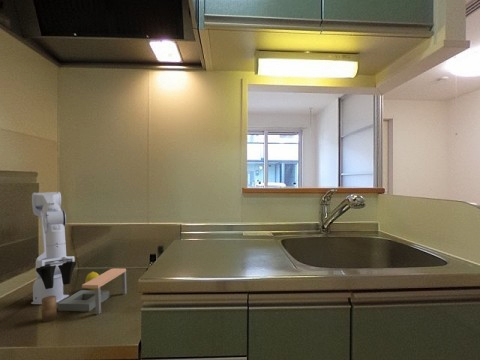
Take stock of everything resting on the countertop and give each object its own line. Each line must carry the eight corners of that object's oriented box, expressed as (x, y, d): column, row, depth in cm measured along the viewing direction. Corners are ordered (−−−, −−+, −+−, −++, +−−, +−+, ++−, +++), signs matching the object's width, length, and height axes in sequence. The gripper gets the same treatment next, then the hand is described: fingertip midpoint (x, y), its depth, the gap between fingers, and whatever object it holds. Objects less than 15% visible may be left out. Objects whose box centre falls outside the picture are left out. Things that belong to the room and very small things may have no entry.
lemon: (94, 293, 114) (93, 273, 114) (82, 292, 115) (81, 273, 115) (103, 288, 119) (102, 269, 119) (92, 287, 120) (91, 269, 120)
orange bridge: (82, 314, 96) (81, 284, 96) (112, 293, 114) (112, 268, 114) (99, 314, 95) (98, 285, 95) (126, 293, 113) (126, 268, 113)
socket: (57, 310, 99) (57, 303, 99) (81, 296, 111) (80, 290, 111) (89, 311, 98) (89, 304, 98) (109, 297, 110) (109, 290, 110)
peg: (39, 321, 91) (38, 300, 91) (48, 316, 95) (48, 295, 95) (50, 322, 91) (49, 300, 91) (59, 316, 95) (59, 295, 95)
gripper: (49, 244, 89) (52, 288, 86) (81, 242, 103) (84, 280, 100) (29, 248, 90) (31, 292, 87) (63, 246, 104) (66, 284, 101)
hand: (58, 286), depth 94 cm, fingers open, 7 cm apart
